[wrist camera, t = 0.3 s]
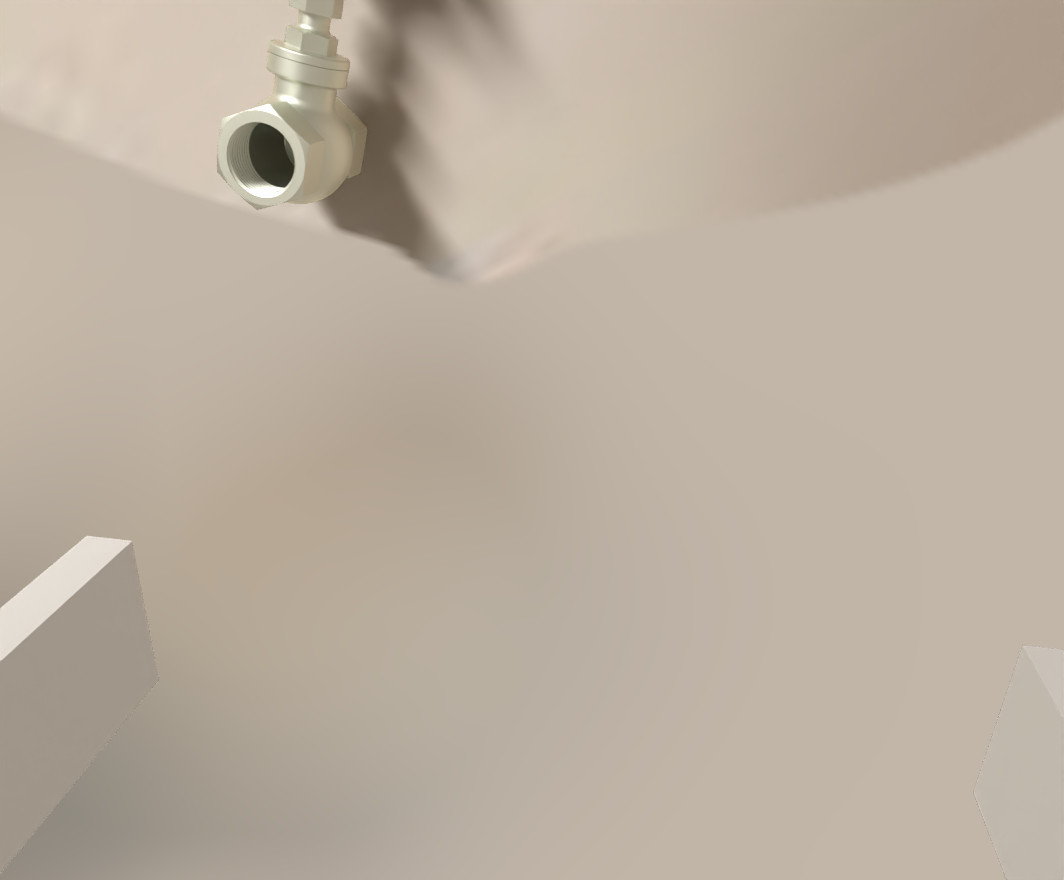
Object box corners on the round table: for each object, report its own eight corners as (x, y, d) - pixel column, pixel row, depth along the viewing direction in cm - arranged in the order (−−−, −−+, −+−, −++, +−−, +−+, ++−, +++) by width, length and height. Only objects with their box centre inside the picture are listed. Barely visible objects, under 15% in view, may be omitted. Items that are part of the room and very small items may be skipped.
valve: (393, 209, 38) (450, -103, 33) (339, 241, 32) (398, -134, 27) (250, 167, 38) (284, -150, 33) (170, 190, 32) (196, -192, 27)
